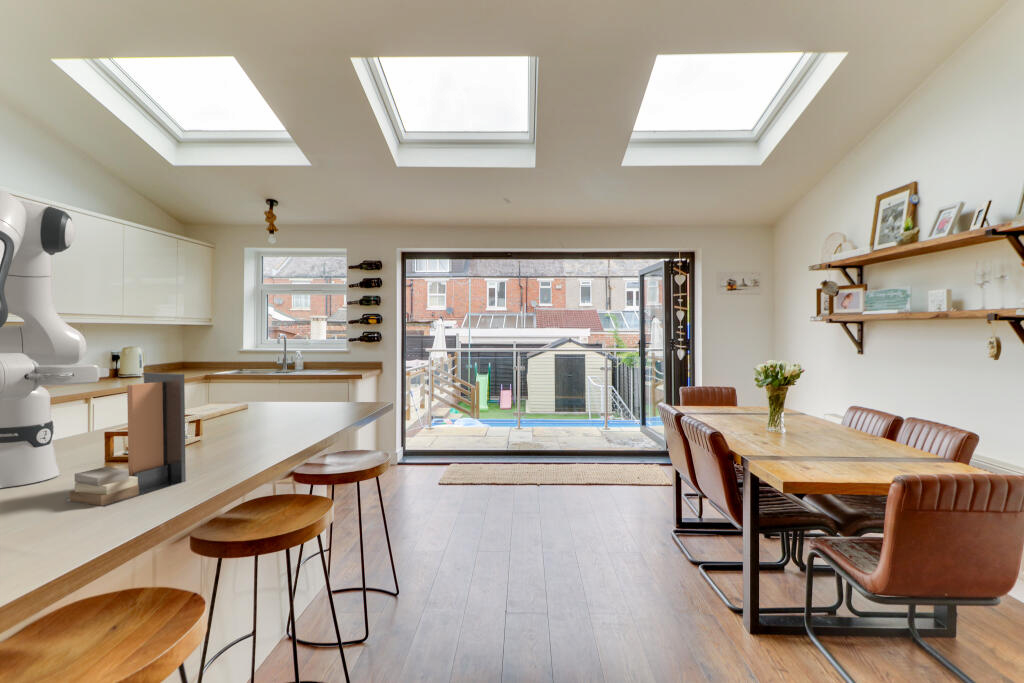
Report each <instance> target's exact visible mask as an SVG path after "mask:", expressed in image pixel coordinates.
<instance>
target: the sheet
mask: <svg viewBox="0 0 1024 683" xmlns="http://www.w3.org/2000/svg"><path fill="white" fill-rule="evenodd" d="M126 388H127V389H126V394H127V396H126V397H127V398H126V400H127V445H128V446H127V448H128V449H127V455H128V456H127V457H128V458H127V461H128V470H129V476H132V473H135V472H139V471H143V470H147V469H150V468H154V467H158V466H162V465H164V461H163V389H162V382H154V383H144V382H143V383H137V384H128V385H127V384H126Z"/></svg>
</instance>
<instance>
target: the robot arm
mask: <svg viewBox="0 0 1024 683" xmlns="http://www.w3.org/2000/svg"><path fill="white" fill-rule="evenodd" d="M75 235H76V229H75V225H74V223H73V220H72V217H71V216H70V215H69V214H68V213H67V212H66V211H64V210H62V209H59V208H57V207H52V206H43V205H40V204H36V203H32V202H27V201H24V200H23V201H22V200H19V199H18V198H17V197H15V196H14V195H12V194H11V193H8V192H7V191H4V190H1V189H0V489H3V488H9V487H17V486H24V485H29V484H34V483H35V484H36V483H40V482H43V481H47V480H50V479H52V478H55V477H56V478H57V477H58V476H59V475H61V471H60V466H59V465H58V462H57V457H56V450H55V446H54V440H53V435H54V422H53V420H52V419H51V417H52V415H51V413H52V412H51V393H50V392H49V391H48V390H47V389H46V388H45V387H43V386H70V385H71V386H72V385H73V386H74V385H87V384H97V383H98V382H99V380H100V378H108V377H109V376H110V368H107V367H106V368H105V367H104V368H102V367H101V368H100V367H99V365H97V364H78V363H79V362H81V360H82V359H83V358H84V356H85V355H86V353H87V350H88V348H87V346H88V345H87V342H86V338H85V337H84V335H83V334H82V333H81V332H80V330H78V329H76V328H74V327H72V326H71V325H69V324H68V323H67V322H65V321H64V320H63V319H62V317H61V316H60V315H59V314H58V312H57V311H56V310H57V309H56V308H55V306H54V302H53V300H54V299H53V292H52V291H53V290H52V288H53V287H52V280H53V279H52V278H53V275H52V274H53V273H52V272H53V269H52V256H54V255H55V254H56V253H57V254H58V253H62V252H64V251H66V250H67V249H69V248H70V247H71V244H72V243H73V241H74V239H75ZM9 314H11V315H14V316H16V317H19V318H21V319H22V320H23V324H22V325H5V324H6V322H7V320H8V317H9Z"/></svg>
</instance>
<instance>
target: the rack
mask: <svg viewBox="0 0 1024 683" xmlns="http://www.w3.org/2000/svg"><path fill="white" fill-rule="evenodd" d="M154 382H162V389H163V461H164V465H162V466H158V467H154V468H150V469H147V470H143V471H139V472H135V473H132V476H134V477H138V485H139V494H138V495H135V496H131V497H128V498H125V499H122V500H118V501H115V502H112V503H109V504H105V505H102V506H100V505H94V504H88V503H81V502H75V501H70V498H69V499H65V501H66V502H72V503H76V504H77V503H79V504H84V505H91V506H94V507H95V506H97V507H102V508H106V507H108V506H111V505H115V504H118V503H121V502H124V501H127V500H131V499H135V498H137V497H141V496H144V495H147V494H151V493H153V492H156V491H160V490H163V489H166V488H169V487H172V486H176V485H179V484H182V483H185V482H186V481H187V480H186V479H187V478H186V474H187V473H186V471H187V470H186V416H185V415H186V412H185V411H186V410H185V409H186V408H185V407H186V406H185V405H186V403H185V402H186V400H185V393H186V392H185V389H186V388H185V374H184V373H162V372H144V373H143V384H144V383H154Z"/></svg>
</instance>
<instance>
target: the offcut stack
mask: <svg viewBox="0 0 1024 683" xmlns="http://www.w3.org/2000/svg"><path fill="white" fill-rule="evenodd" d="M138 494H139V485H138V477H134V476H129V469H121V468H115V467H110V466H103V467H99V468H94V469H90V470H86V471H82V472H77V473H74V490H71V491H70V492H69V499H70V501H69V502H71V501H75V502H74V503H77V502H81V503H80V504H83V503H88V504H87V505H89V504H94V505H93V506H95V505H100V506H99V507H102V505H105V504H109V503H112V502H115V501H118V500H122V499H125V498H128V497H131V496H135V495H138Z"/></svg>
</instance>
